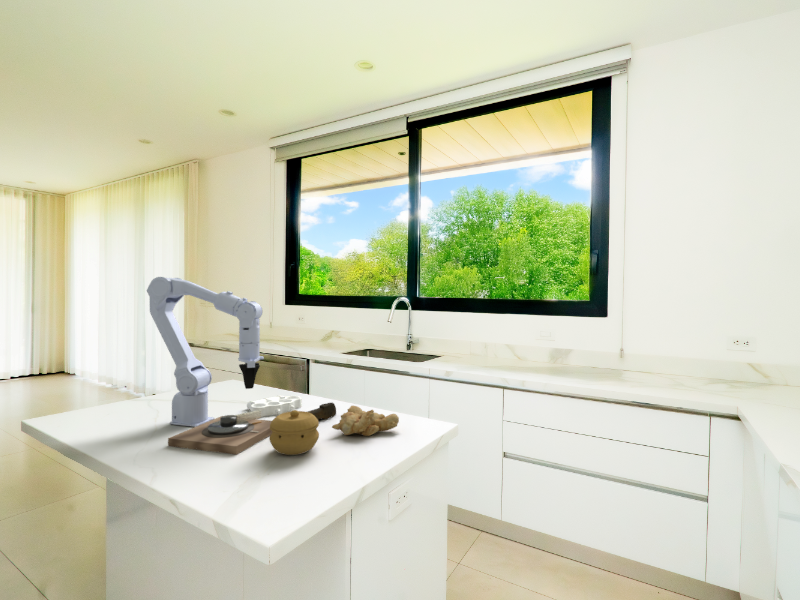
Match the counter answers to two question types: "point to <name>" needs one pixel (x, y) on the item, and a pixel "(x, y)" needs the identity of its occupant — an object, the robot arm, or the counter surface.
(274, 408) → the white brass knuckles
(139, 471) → the counter surface
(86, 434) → the counter surface
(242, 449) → the dial board
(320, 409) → the brown rough bar
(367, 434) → the ginger root
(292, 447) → the pot
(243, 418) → the dial
